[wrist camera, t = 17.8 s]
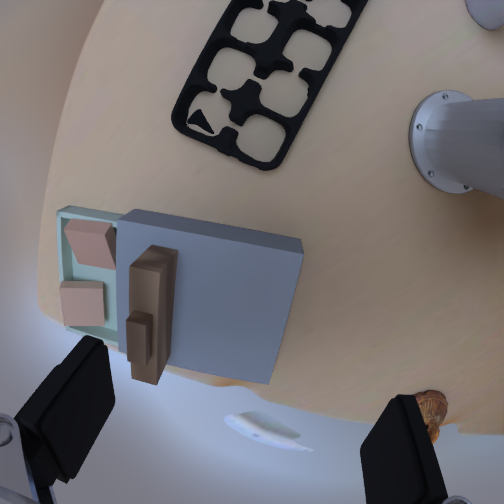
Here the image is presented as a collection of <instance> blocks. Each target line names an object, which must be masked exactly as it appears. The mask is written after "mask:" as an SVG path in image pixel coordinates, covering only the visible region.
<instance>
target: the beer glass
mask: <svg viewBox="0 0 504 504" xmlns="http://www.w3.org/2000/svg"><path fill="white" fill-rule="evenodd" d="M466 5H467V8H468V11H469V13H470V14H471V16H472V17H473V19H474V20H475V21H476V22H477V23H478V24H479V25H480V26H482V27H483V28H485V29H488V30H496V29H498V28H499V27H501V26H502V25H503V24H504V0H466Z"/></svg>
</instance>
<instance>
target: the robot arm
mask: <svg viewBox="0 0 504 504" xmlns="http://www.w3.org/2000/svg"><path fill="white" fill-rule="evenodd" d="M442 96H443V98H442ZM416 125H417V126H418V129H416ZM409 140H410V149H411V153H412V156H413V159H414V162H415V164H416V166H417V168H418V170H419V171H420V173H421V174H422V176H423V177H424V178H425V179H426V180H427V181H428V182H429V183H430V184H431V185H433V186H434V187H435V188H438V189H440V190H442V191H444V192H448V193H452V194H461V193H466V192H469V191H471V190H473V189H477V190H480V191H483V192H485V193H488V194H491V195H493V196H496V197H499V198H501V199H504V98H495V99H482V100H473V99H472V98H471V97H469V96H467V95H466V94H464V93H461V92H458V91H452V90H445V91H439V92H436V93H433V94H431V95H429V96H427V97H426V98H425V99H424V100H423V101H422V102H421V103H420V104H419V106H418V107H417V109H416V110H415V113H414V115H413V117H412V121H411V125H410V135H409ZM428 171H429V174H428ZM114 405H115V395H114V388H113V382H112V376H111V369H110V362H109V354H108V348H107V346H106V345H104V342H103V340H102V339H99V338H96V337H93V336H90V335H85V336H84V337H83V338H82V339H81V340H80V341H79V342H78V344H77V345H76V346H75V347H74V348H73V350H72V351H71V352H70V353H69V355H67V357H66V358H65V359H64V360H63V361H62V363H61V364H59V365H57V366H56V367H55V368H54V369H53V370H52V371H51V372H50V373H49V375H48V376H47V377H46V378H45V379H44V381H43V382H42V383H41V384H40V386H39V387H38V388H37V389H36V391H35V392H34V393H33V394H32V396H31V397H30V398H29V399H28V401H27V402H26V403H25V404H24V406H23V407H22V408H21V410H20V411H19V412H18V413H17V415H16V416H15V417H14V419H13V418H12V417H11V416H9V415H6V414H2V413H0V504H57V501H56V498H55V494H54V491H53V488H52V485H53V484H54V482H55V480H56V479H58V480H60V481H62V482H64V483H66V484H67V483H68V481H69V479H70V478H71V479H74V478H75V477H76V475H77V473H78V472H79V470H80V468H81V466H82V464H83V462H84V460H85V459H86V457H87V455H88V453H89V451H90V449H91V447H92V445H93V444H94V442H95V440H96V438H97V436H98V435H99V433H100V431H101V429H102V427H103V426H104V424H105V422H106V420H107V418H108V417H109V415H110V413H111V411H112V409H113V407H114ZM360 457H361V463H362V471H363V479H364V487H365V494H366V504H472V503H471V502H470V501H469V500H468V499H466V498H465V497H462V496H452V497H449V498H448V494H447V491H446V487H445V484H444V480H443V477H442V473H441V470H440V467H439V464H438V460H437V457H436V454H435V451H434V447H433V444H432V441H431V438H430V436H429V433H428V430H427V428H426V425H425V422H424V419H423V416H422V413H421V410H420V408H419V405H418V402H417V400H416V397H415V396H414V395H401V394H398V395H397V396H396V397H395V398H392V399H391V400H390V401H389V403H388V405H387V406H386V408H385V409H384V411H383V413H382V414H381V416H380V417H379V419H378V421H377V422H376V424H375V425H374V427H373V428H372V430H371V431H370V433H369V434H368V436H367V437H366V439H365V440H364V442H363V444H362V445H361V448H360Z"/></svg>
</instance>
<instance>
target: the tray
mask: <svg viewBox="0 0 504 504" xmlns="http://www.w3.org/2000/svg"><path fill="white" fill-rule="evenodd" d="M122 216H124V215H122V214H116V213H110V212H105V211H99V210H93V209H87V208H81V207H76V206H70V205H69V206H67V207H65V208H62V209H60V210H58V211H57V246H58V263H59V276H60V285H61V281H103V294H104V313H105V326H65V328H66V330H68V331H71V332H74V333H77V334H80V335H83V336H85V335H90V336H93V337H96V338H99V339H102V340H103V342H105V343H108V344H111V345H115V346H118V331H117V308H116V270H111V269H105V268H100V267H94V266H89V265H84V264H78V262H77V260H76V257H75V255H74V253H73V251H72V248H71V246H70V244H69V241H68V239H67V237H66V234H65V232H64V228H65V227H66V225H67V224H68V222H69V221H70V220H71V218H72V219H81V220H89V221H98V222H106V223H112V226H113V229H114V233H115V236H117V219H119V218H120V217H122Z"/></svg>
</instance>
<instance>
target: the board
mask: <svg viewBox="0 0 504 504" xmlns="http://www.w3.org/2000/svg"><path fill="white" fill-rule="evenodd" d="M151 245H157V246H162V247H167V248H172V249H177V250H178V258H177V268H176V280H175V292H174V305H173V320H172V337H171V354H170V356H169V359H168V361H167V363H166V364H168V365H172V366H176V367H180V368H185V369H189V370H193V371H198V372H203V373H207V374H212V375H217V376H222V377H227V378H233V379H238V380H244V381H250V382H256V383H262V384H268V385H269V381H270V378H271V375H272V371H273V368H274V364H275V361H276V357H277V354H278V350H279V347H280V343H281V340H282V336H283V333H284V329H285V325H286V322H287V318H288V314H289V311H290V307H291V303H292V299H293V296H294V292H295V288H296V284H297V280H298V276H299V272H300V268H301V264H302V260H303V256H304V252H303V248H302V244H301V240H300V239H297V238H292V237H287V236H282V235H277V234H271V233H266V232H261V231H256V230H250V229H245V228H240V227H234V226H229V225H223V224H218V223H213V222H207V221H202V220H196V219H190V218H185V217H179V216H174V215H168V214H162V213H156V212H151V211H145V210H139V209H134V210H132V211H131V212H129V213H127V214H125V215H124V216H122V217H120V218H119V219H117V236H116V308H117V331H118V347H119V351H120V352H123V353H126V354H127V342H126V319H127V318H128V317H129V266H130V265H131V264H132V263H133V262H134V261H135V260H136V259H137V258H138V257H139V256H140V255H141V254H142V253H143V252H144V251H145V250H146V249H147V248H148V247H150V246H151Z"/></svg>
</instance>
